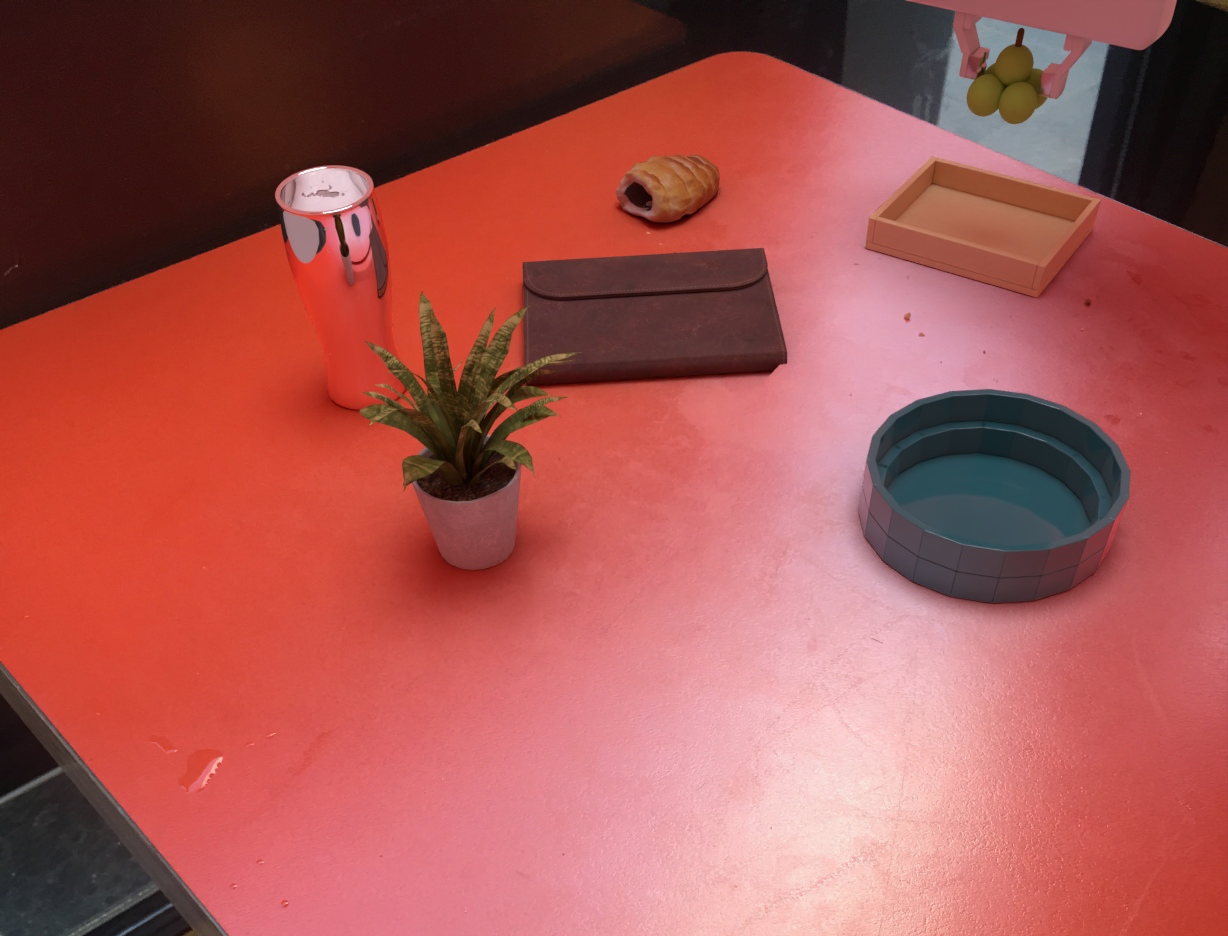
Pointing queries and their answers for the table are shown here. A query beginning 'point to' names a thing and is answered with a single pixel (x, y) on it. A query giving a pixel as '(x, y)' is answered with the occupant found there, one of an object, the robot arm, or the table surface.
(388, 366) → the house plant
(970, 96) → the grapes
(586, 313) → the notebook
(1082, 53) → the robot arm
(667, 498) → the table surface
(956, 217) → the tray
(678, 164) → the pastry
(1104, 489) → the bowl
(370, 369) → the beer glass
